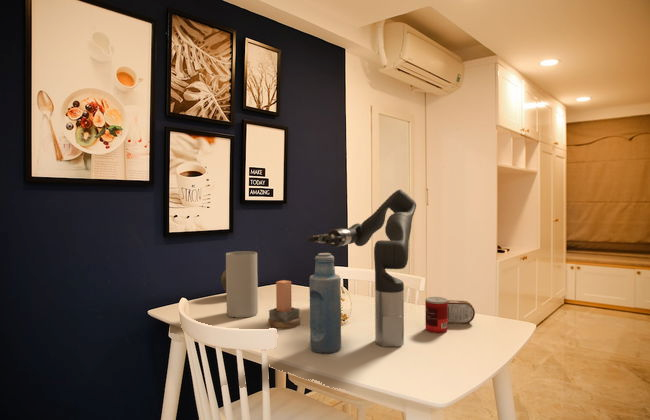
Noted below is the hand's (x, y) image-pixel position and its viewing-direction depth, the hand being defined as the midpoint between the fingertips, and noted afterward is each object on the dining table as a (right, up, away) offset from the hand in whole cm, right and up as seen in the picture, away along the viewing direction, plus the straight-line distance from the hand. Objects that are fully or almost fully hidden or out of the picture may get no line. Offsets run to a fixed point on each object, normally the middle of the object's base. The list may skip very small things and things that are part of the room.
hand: (317, 240), depth 171 cm
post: (-12, -28, -12) cm, 33 cm away
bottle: (+3, -31, -39) cm, 50 cm away
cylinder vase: (-31, -30, +2) cm, 43 cm away
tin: (+52, -30, -12) cm, 61 cm away
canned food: (+43, -31, -21) cm, 57 cm away
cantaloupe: (-39, -30, +32) cm, 59 cm away
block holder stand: (-12, -30, -12) cm, 35 cm away
